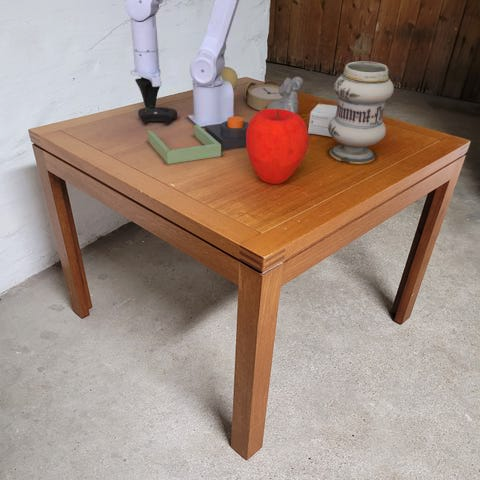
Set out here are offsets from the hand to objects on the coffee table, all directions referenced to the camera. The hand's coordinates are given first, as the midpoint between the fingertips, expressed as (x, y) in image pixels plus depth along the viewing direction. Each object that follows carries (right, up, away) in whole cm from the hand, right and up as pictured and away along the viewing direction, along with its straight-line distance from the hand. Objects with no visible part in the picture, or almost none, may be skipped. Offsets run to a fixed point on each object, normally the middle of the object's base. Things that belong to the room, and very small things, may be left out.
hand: (150, 109), depth 128 cm
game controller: (+2, -4, -2) cm, 5 cm away
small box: (+44, -7, -5) cm, 44 cm away
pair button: (+21, -10, -15) cm, 28 cm away
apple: (+29, -25, -27) cm, 47 cm away
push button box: (+21, -11, -11) cm, 26 cm away
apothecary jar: (+47, -17, -16) cm, 53 cm away
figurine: (+32, -4, -1) cm, 33 cm away
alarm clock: (+29, +6, +11) cm, 32 cm away
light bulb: (+19, +3, +7) cm, 20 cm away
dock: (+10, -15, -16) cm, 24 cm away
